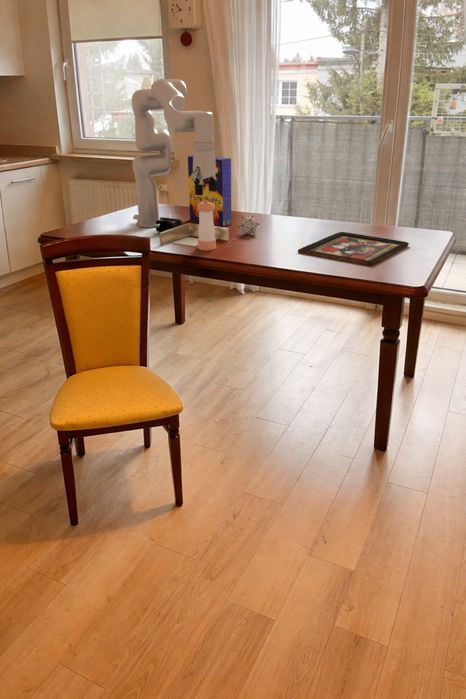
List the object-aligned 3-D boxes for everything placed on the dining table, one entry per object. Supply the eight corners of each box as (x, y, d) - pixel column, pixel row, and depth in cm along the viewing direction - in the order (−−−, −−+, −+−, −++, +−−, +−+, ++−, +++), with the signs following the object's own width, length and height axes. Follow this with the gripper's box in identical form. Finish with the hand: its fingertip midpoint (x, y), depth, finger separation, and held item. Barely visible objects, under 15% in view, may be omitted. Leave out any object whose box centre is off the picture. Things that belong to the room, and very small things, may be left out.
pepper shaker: (195, 247, 241) (193, 199, 233) (211, 244, 244) (210, 197, 236) (202, 251, 235) (200, 202, 227) (218, 249, 238) (217, 200, 230)
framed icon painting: (330, 235, 259) (331, 228, 257) (410, 246, 242) (411, 239, 241) (293, 257, 229) (293, 250, 228) (381, 271, 213) (382, 263, 212)
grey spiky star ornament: (251, 243, 260) (256, 228, 251) (234, 236, 260) (238, 220, 251) (258, 229, 264) (263, 214, 256) (241, 222, 264) (245, 207, 256)
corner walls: (160, 244, 244) (159, 232, 242) (188, 234, 261) (187, 222, 259) (202, 251, 235) (201, 238, 233) (228, 239, 251) (228, 228, 249)
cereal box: (190, 220, 287) (187, 155, 275) (198, 217, 291) (196, 154, 279) (222, 226, 274) (221, 159, 261) (231, 224, 278) (230, 157, 265)
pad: (172, 243, 246) (172, 242, 246) (187, 237, 255) (187, 237, 255) (194, 246, 241) (194, 245, 241) (209, 240, 250) (209, 240, 250)
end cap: (183, 233, 263) (182, 218, 260) (174, 236, 257) (173, 221, 255) (164, 230, 267) (163, 215, 265) (155, 234, 262) (154, 219, 259)
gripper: (208, 144, 231) (209, 189, 238) (183, 148, 218) (185, 196, 225) (224, 145, 228) (225, 190, 235) (200, 149, 214) (202, 197, 221)
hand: (205, 193), depth 230 cm, fingers open, 9 cm apart
